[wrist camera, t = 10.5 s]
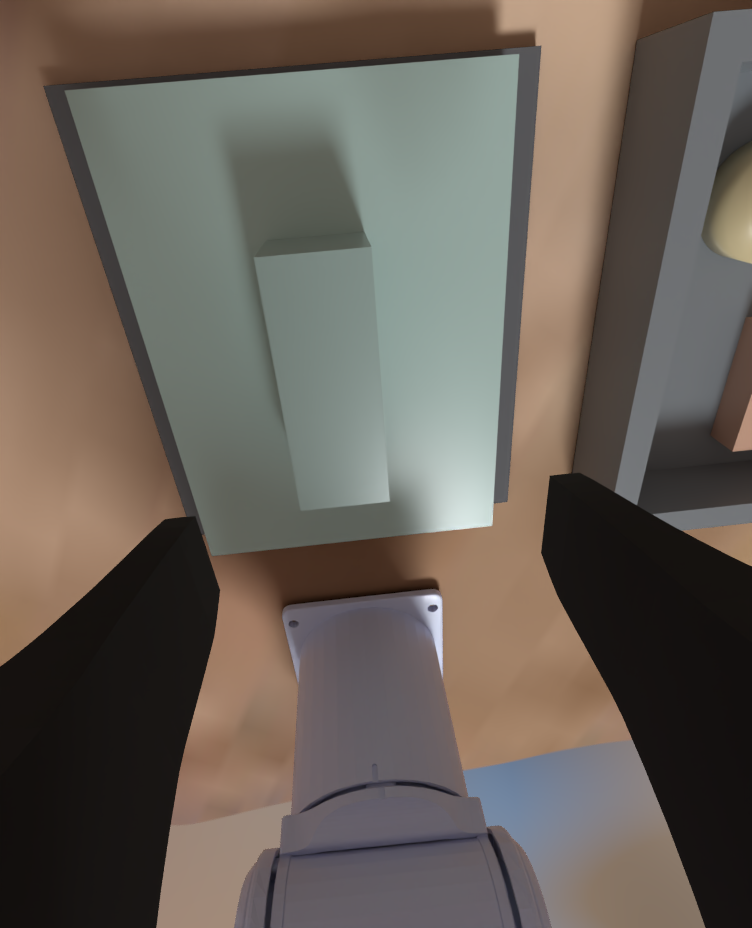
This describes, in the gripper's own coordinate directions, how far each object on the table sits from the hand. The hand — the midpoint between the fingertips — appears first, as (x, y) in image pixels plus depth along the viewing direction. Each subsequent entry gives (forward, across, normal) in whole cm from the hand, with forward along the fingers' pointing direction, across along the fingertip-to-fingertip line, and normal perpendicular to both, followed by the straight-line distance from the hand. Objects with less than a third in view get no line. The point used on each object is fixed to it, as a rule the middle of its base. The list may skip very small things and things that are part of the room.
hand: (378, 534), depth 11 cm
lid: (+10, +1, -1) cm, 10 cm away
